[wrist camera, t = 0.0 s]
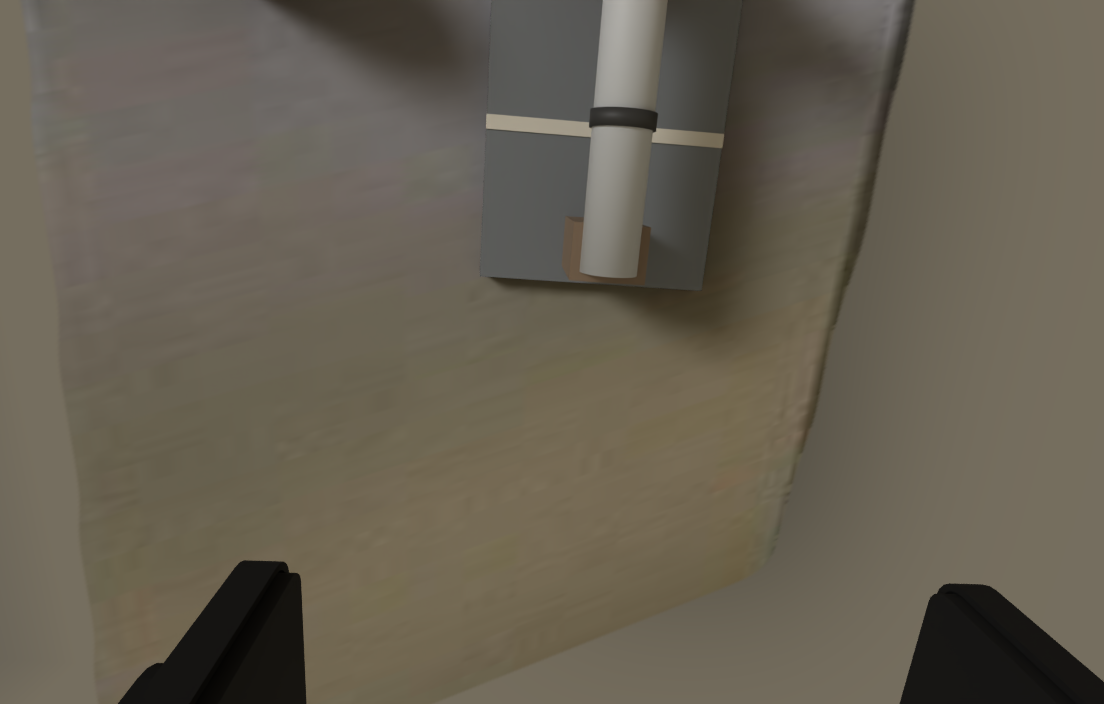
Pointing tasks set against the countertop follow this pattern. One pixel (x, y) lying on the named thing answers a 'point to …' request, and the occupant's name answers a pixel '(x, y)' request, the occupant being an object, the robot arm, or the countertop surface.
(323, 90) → the countertop surface
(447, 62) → the countertop surface
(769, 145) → the countertop surface
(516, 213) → the pipe stand
